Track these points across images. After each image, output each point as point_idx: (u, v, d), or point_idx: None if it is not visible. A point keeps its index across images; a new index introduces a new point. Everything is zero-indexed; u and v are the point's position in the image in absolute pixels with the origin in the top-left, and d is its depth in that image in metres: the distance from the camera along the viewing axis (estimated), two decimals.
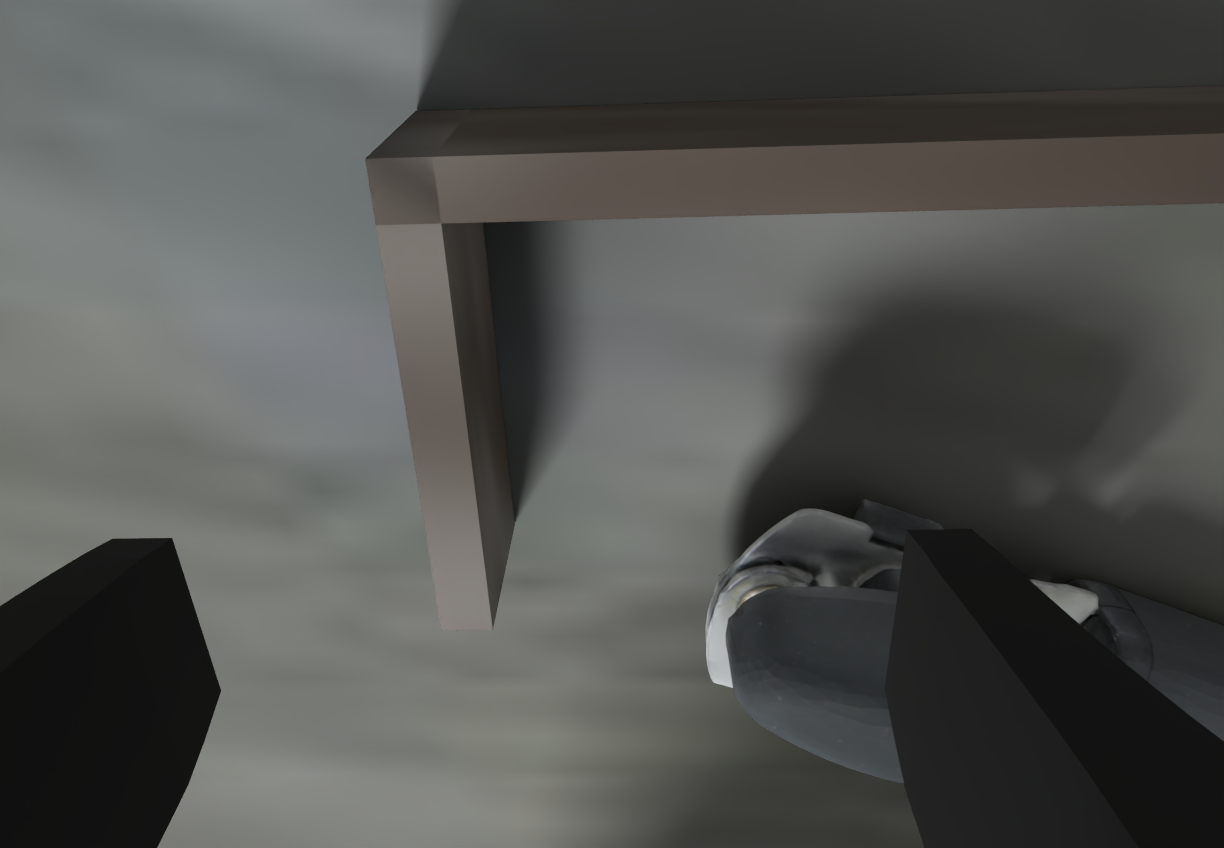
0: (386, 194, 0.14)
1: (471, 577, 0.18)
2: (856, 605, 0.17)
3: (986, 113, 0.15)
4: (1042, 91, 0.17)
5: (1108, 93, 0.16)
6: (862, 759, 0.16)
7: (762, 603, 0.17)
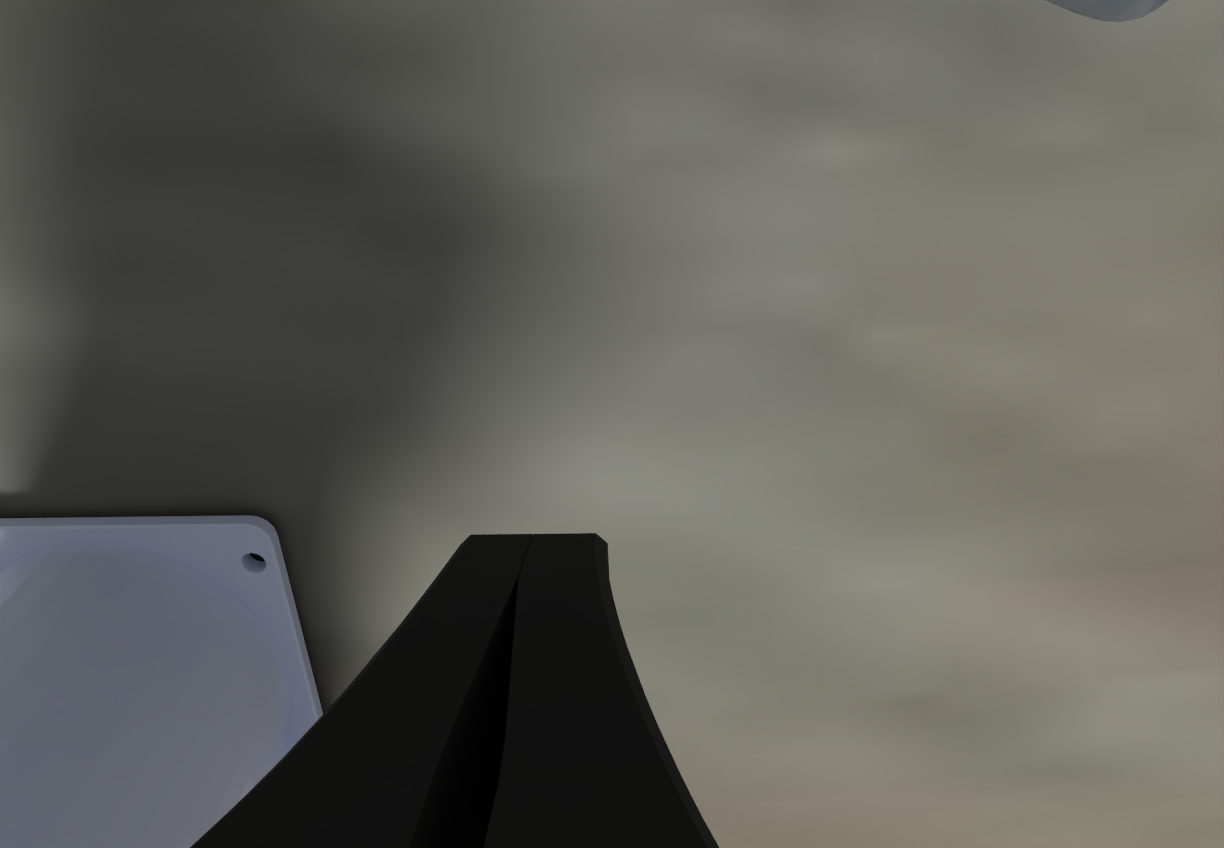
0: None
1: None
2: None
3: None
4: None
5: None
6: None
7: None
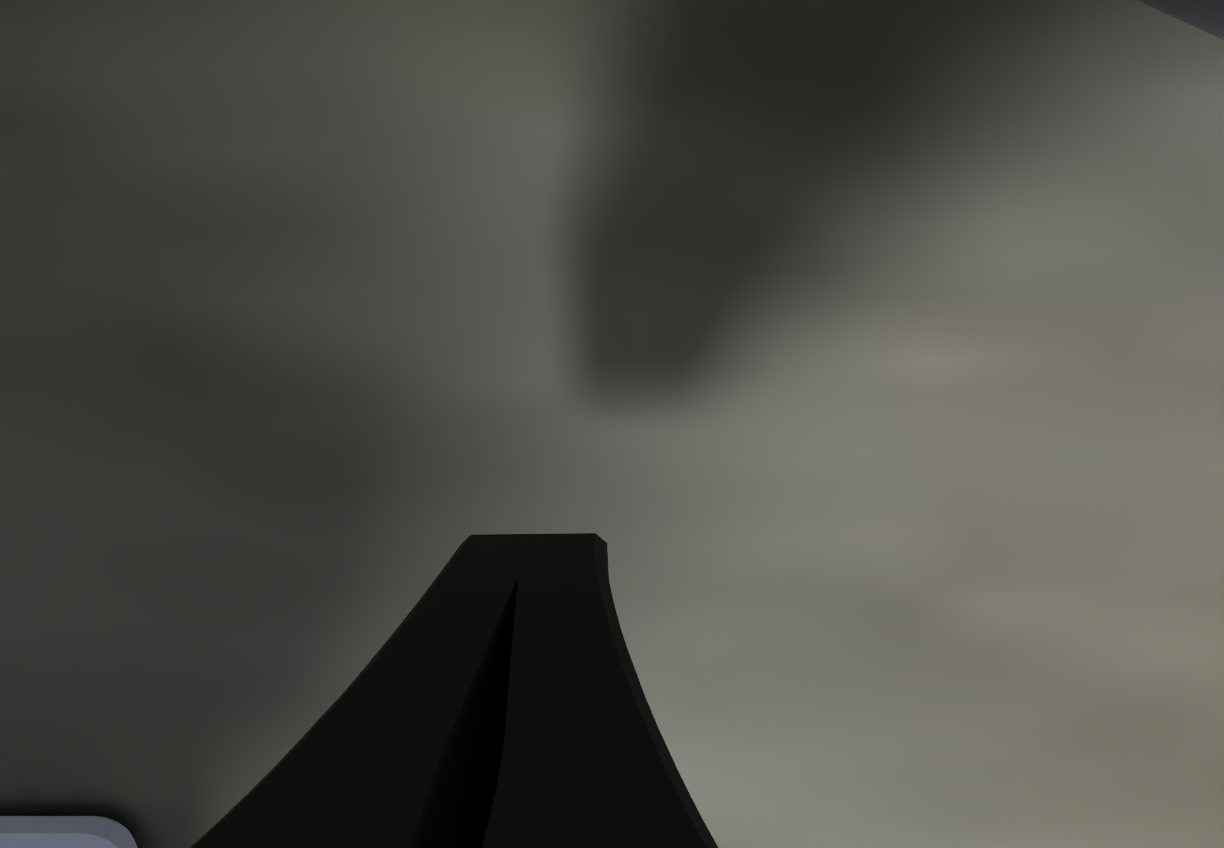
0: None
1: None
2: None
3: None
4: None
5: None
6: None
7: None
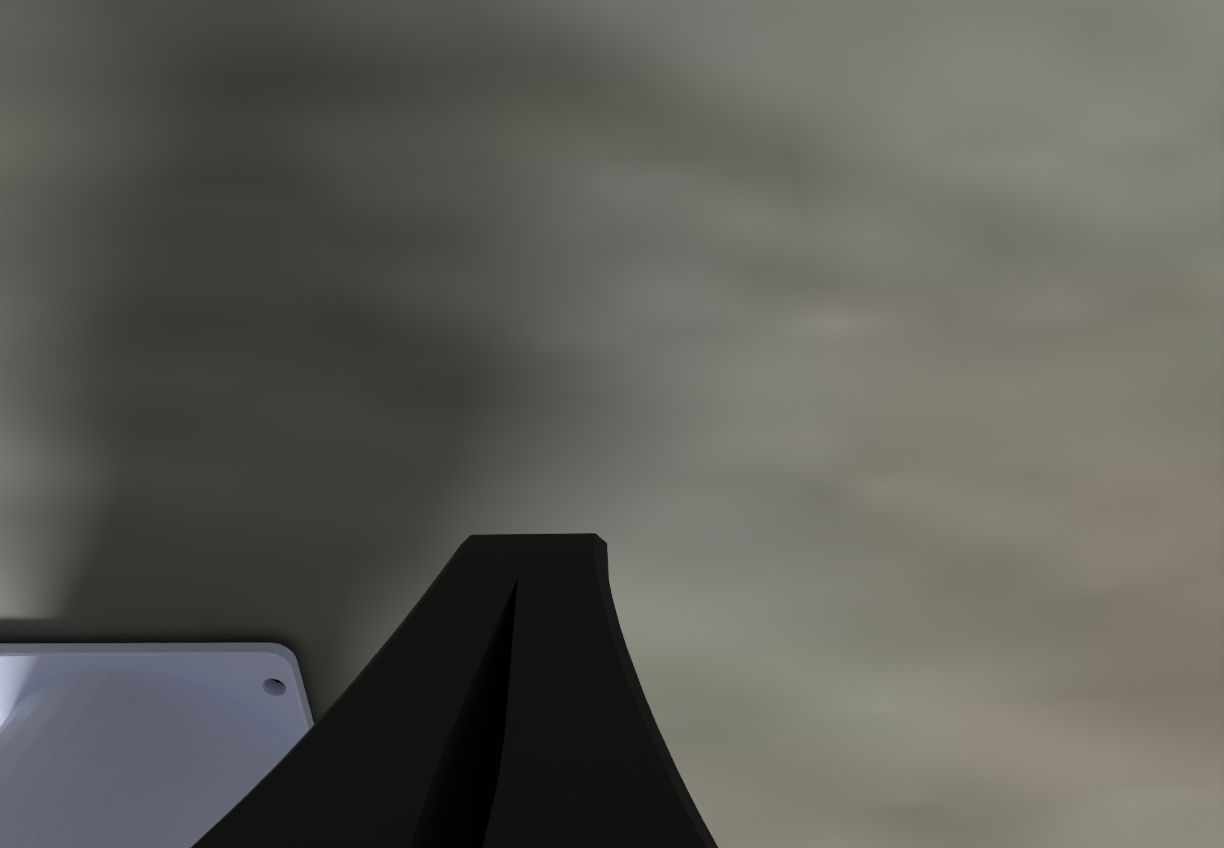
0: None
1: None
2: None
3: None
4: None
5: None
6: None
7: None
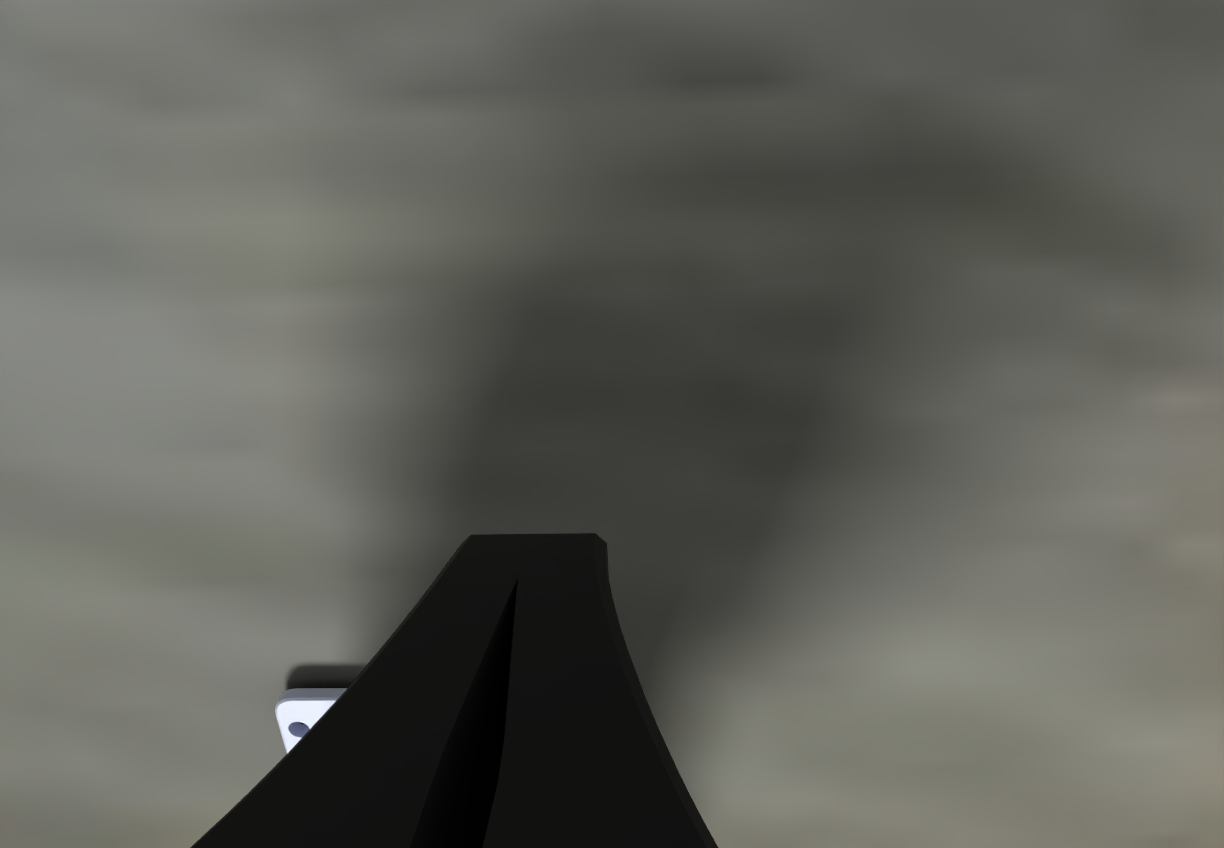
0: None
1: None
2: None
3: None
4: None
5: None
6: None
7: None
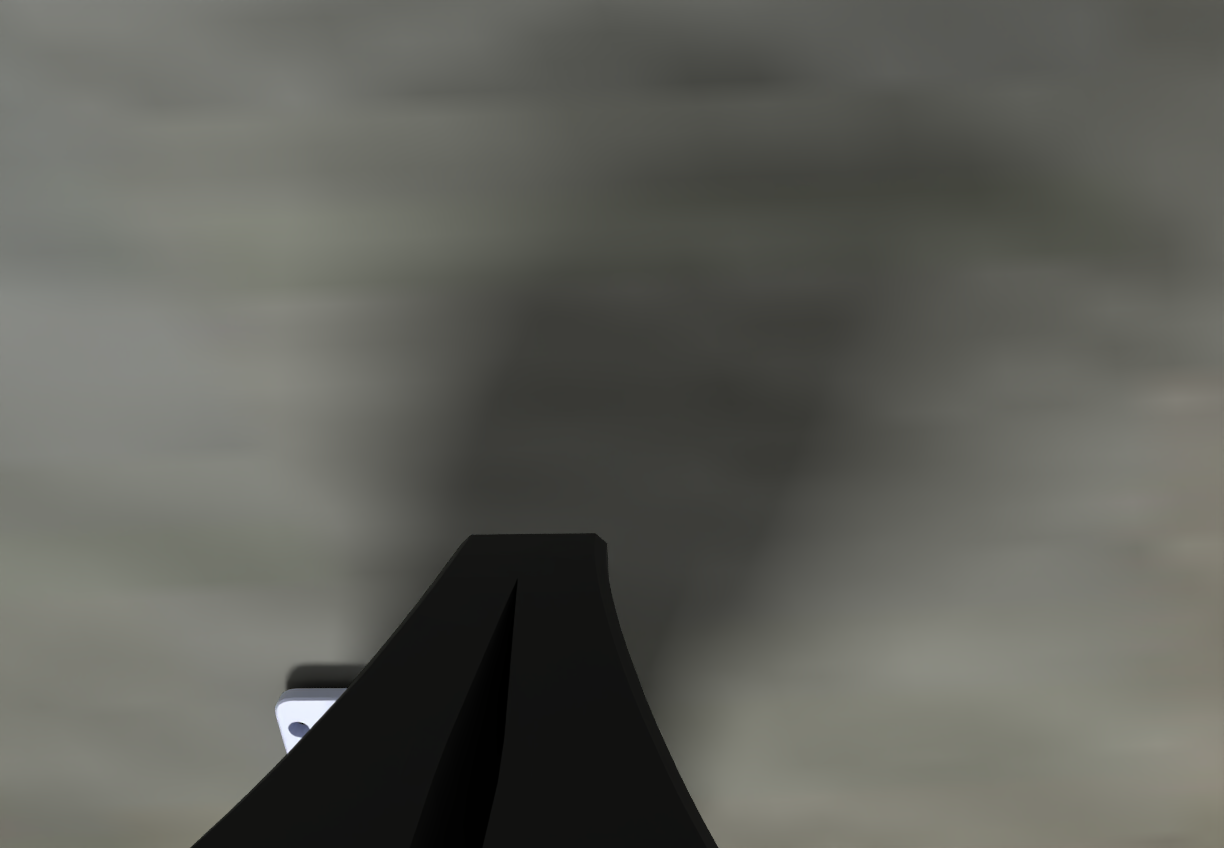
0: None
1: None
2: None
3: None
4: None
5: None
6: None
7: None
